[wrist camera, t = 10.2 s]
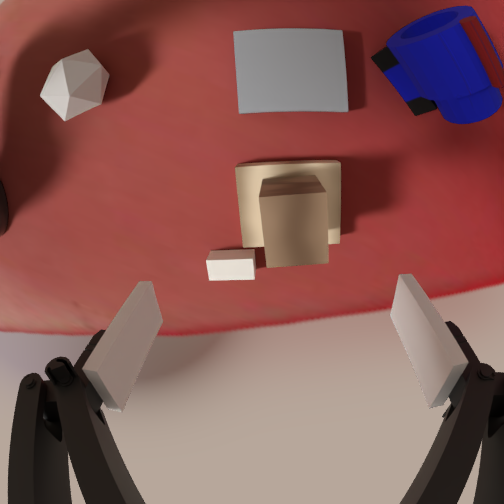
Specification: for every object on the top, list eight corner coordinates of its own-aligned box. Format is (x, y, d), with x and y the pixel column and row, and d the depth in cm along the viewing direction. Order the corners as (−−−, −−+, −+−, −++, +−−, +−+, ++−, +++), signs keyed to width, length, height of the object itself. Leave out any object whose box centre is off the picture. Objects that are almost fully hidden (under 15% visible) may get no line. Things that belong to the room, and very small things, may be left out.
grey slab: (242, 113, 32) (239, 113, 29) (236, 38, 28) (233, 31, 25) (342, 112, 31) (348, 112, 28) (337, 36, 27) (342, 30, 24)
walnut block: (268, 235, 36) (266, 267, 29) (262, 179, 33) (258, 197, 26) (318, 231, 35) (328, 263, 28) (315, 175, 32) (326, 192, 25)
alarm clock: (424, 13, 23) (486, -19, 9) (476, 87, 26) (550, 89, 12) (365, 53, 27) (419, 20, 13) (424, 130, 30) (497, 147, 17)
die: (98, 43, 28) (32, 60, 22) (126, 49, 25) (45, 68, 19) (97, 95, 34) (36, 116, 28) (123, 111, 31) (51, 136, 25)
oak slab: (245, 238, 39) (243, 247, 37) (238, 163, 35) (234, 167, 32) (335, 234, 38) (339, 243, 35) (335, 159, 34) (340, 162, 31)
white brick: (213, 269, 41) (209, 280, 39) (210, 250, 40) (206, 260, 37) (256, 268, 41) (254, 279, 38) (254, 248, 39) (252, 258, 37)
